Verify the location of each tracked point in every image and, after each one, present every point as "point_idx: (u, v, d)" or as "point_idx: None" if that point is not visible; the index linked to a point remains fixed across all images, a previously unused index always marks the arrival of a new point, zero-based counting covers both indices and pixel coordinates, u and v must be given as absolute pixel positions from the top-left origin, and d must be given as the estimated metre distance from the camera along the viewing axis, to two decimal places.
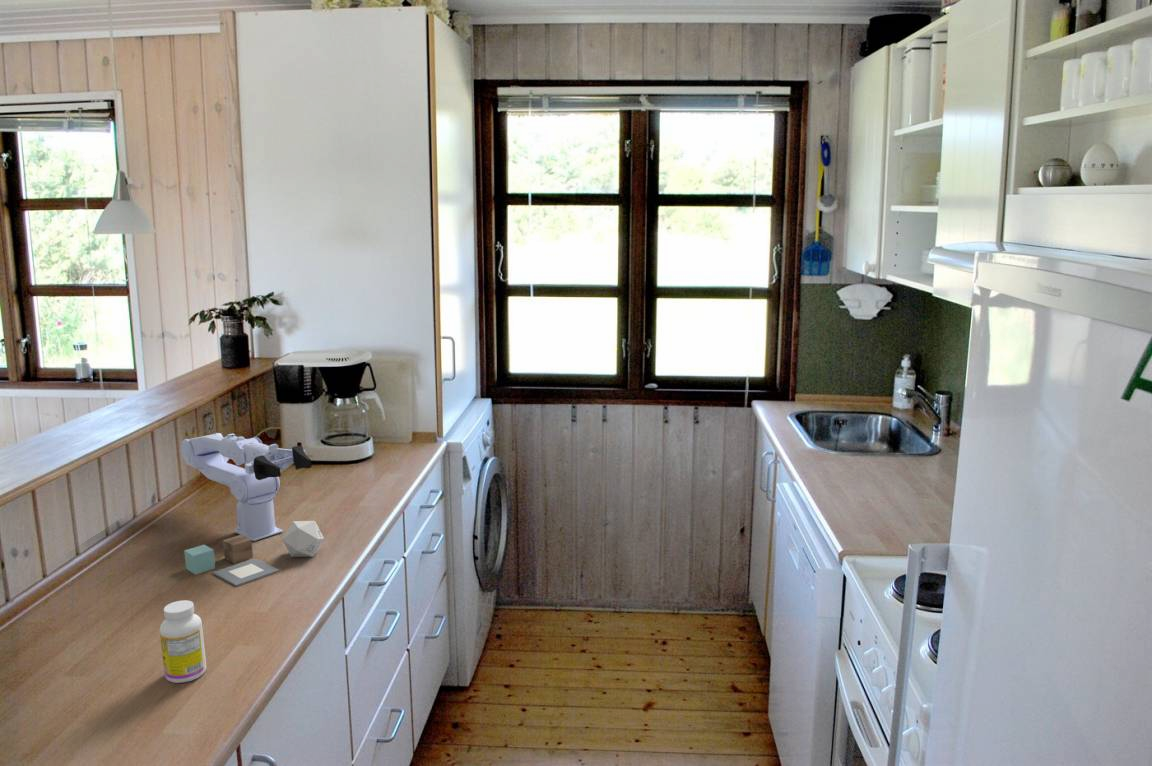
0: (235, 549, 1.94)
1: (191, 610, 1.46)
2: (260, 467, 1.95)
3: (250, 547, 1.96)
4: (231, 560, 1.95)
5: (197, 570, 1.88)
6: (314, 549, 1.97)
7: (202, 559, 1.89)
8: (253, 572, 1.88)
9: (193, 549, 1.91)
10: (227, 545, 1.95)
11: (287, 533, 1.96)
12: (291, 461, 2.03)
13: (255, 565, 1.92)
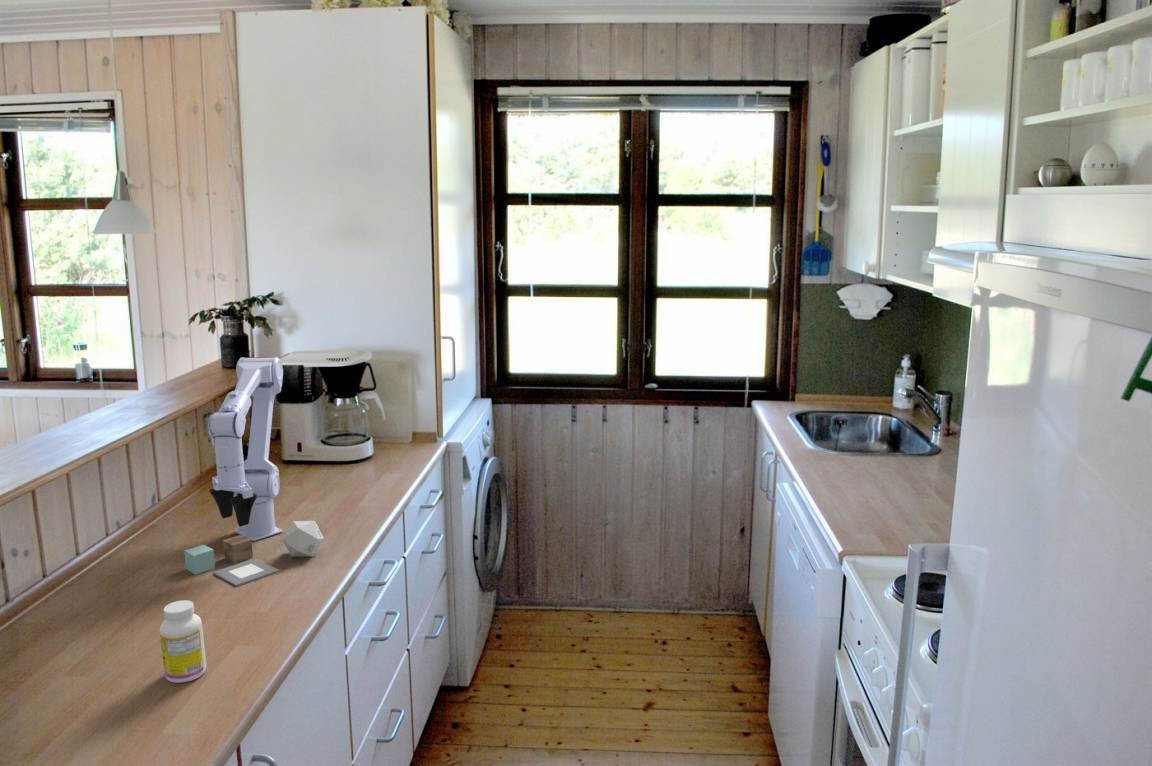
0: (235, 549, 1.94)
1: (191, 610, 1.46)
2: None
3: (250, 547, 1.96)
4: (231, 560, 1.95)
5: (197, 570, 1.88)
6: (314, 549, 1.97)
7: (202, 559, 1.89)
8: (253, 572, 1.88)
9: (193, 549, 1.91)
10: (227, 545, 1.95)
11: (287, 533, 1.96)
12: None
13: (255, 565, 1.92)
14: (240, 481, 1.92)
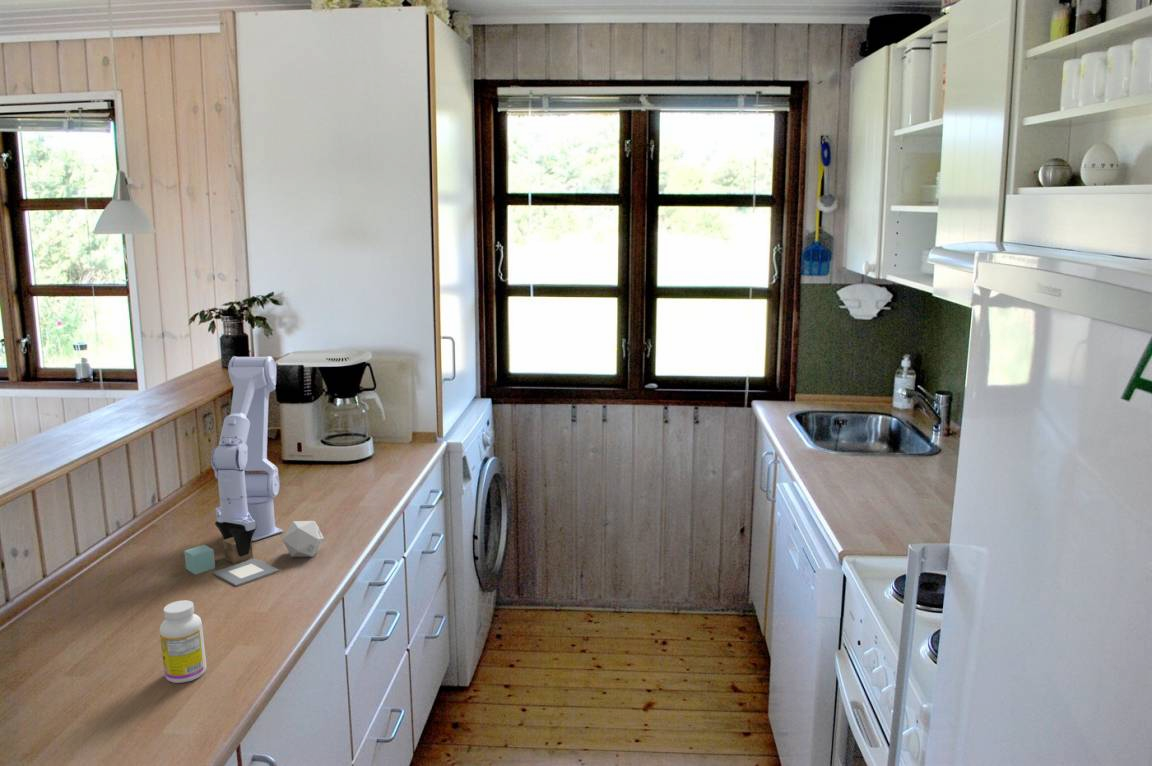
0: (235, 549, 1.94)
1: (191, 610, 1.46)
2: None
3: (250, 547, 1.96)
4: (231, 560, 1.95)
5: (197, 570, 1.88)
6: (314, 549, 1.97)
7: (202, 559, 1.89)
8: (253, 572, 1.88)
9: (193, 549, 1.91)
10: (227, 544, 1.95)
11: (287, 533, 1.96)
12: None
13: (255, 565, 1.92)
14: (243, 513, 1.93)
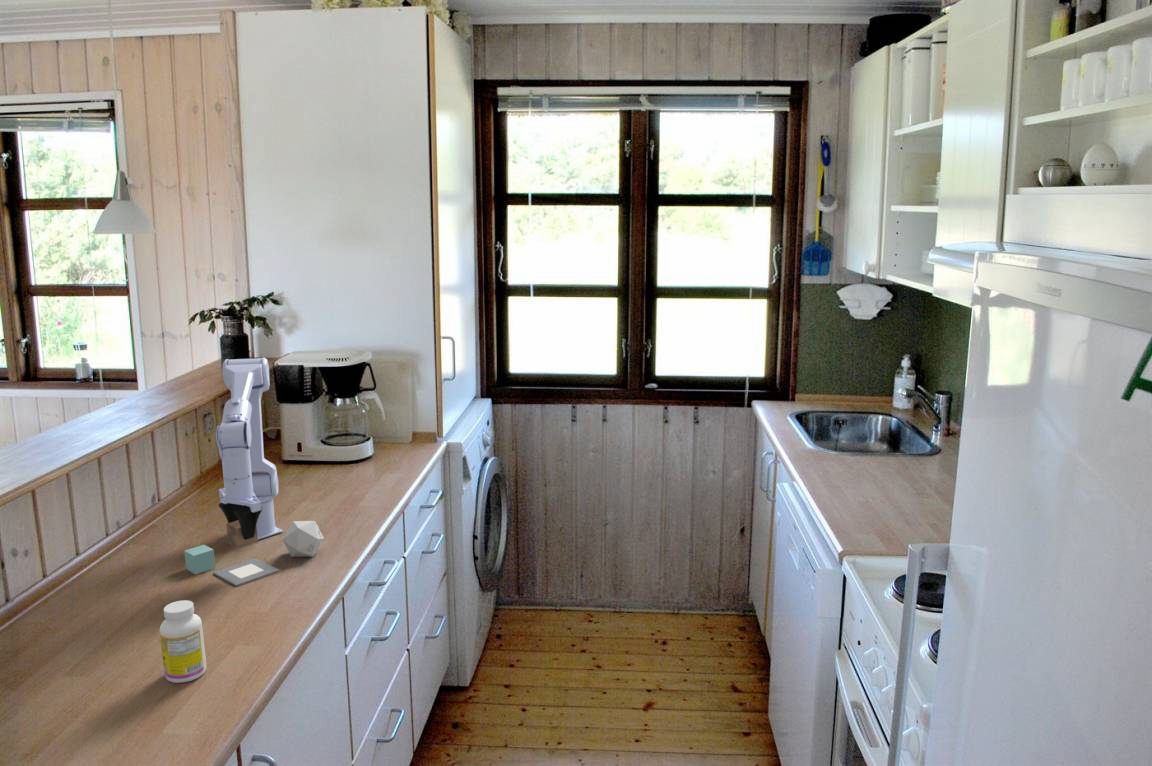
0: (239, 533, 1.84)
1: (191, 610, 1.46)
2: None
3: (255, 531, 1.87)
4: (235, 544, 1.85)
5: (197, 570, 1.88)
6: (314, 549, 1.97)
7: (202, 559, 1.89)
8: (253, 572, 1.88)
9: (193, 549, 1.91)
10: (231, 528, 1.85)
11: (287, 533, 1.96)
12: None
13: (255, 565, 1.92)
14: (248, 494, 1.84)
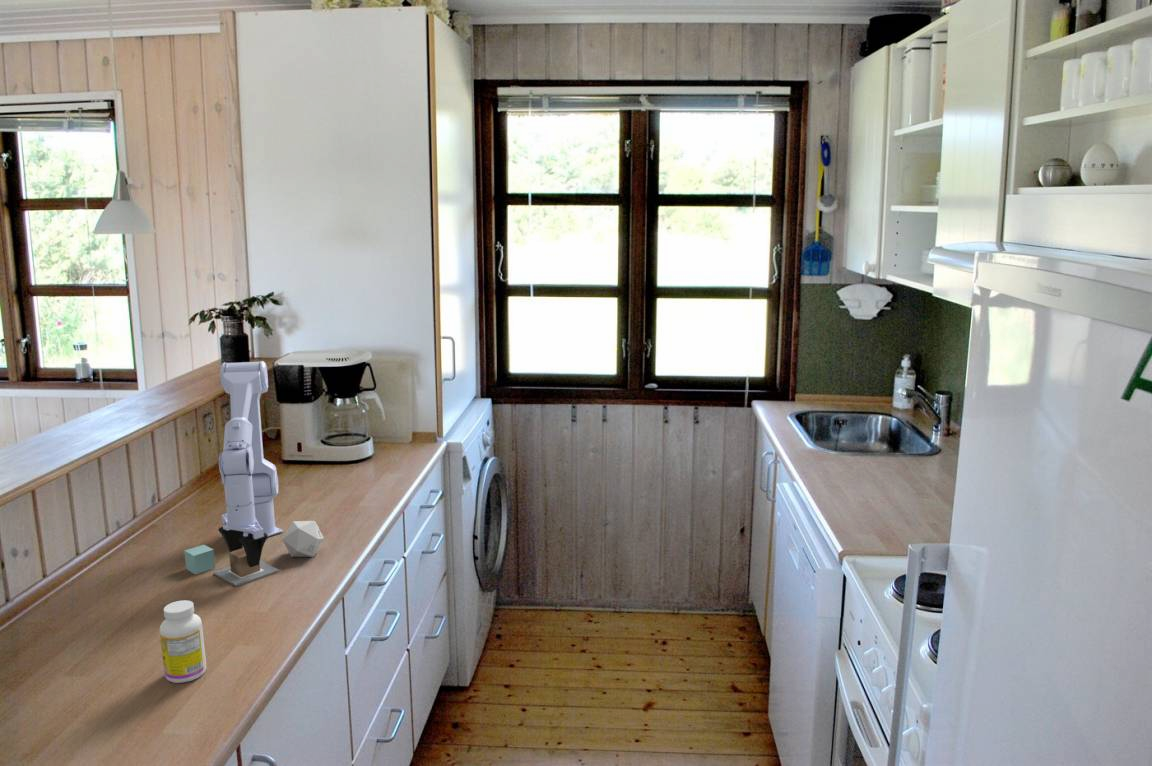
0: (242, 562, 1.85)
1: (191, 610, 1.46)
2: None
3: None
4: (238, 573, 1.86)
5: (197, 570, 1.88)
6: (314, 549, 1.97)
7: (202, 559, 1.89)
8: None
9: (193, 549, 1.91)
10: (234, 557, 1.86)
11: (287, 533, 1.96)
12: None
13: None
14: (251, 521, 1.85)
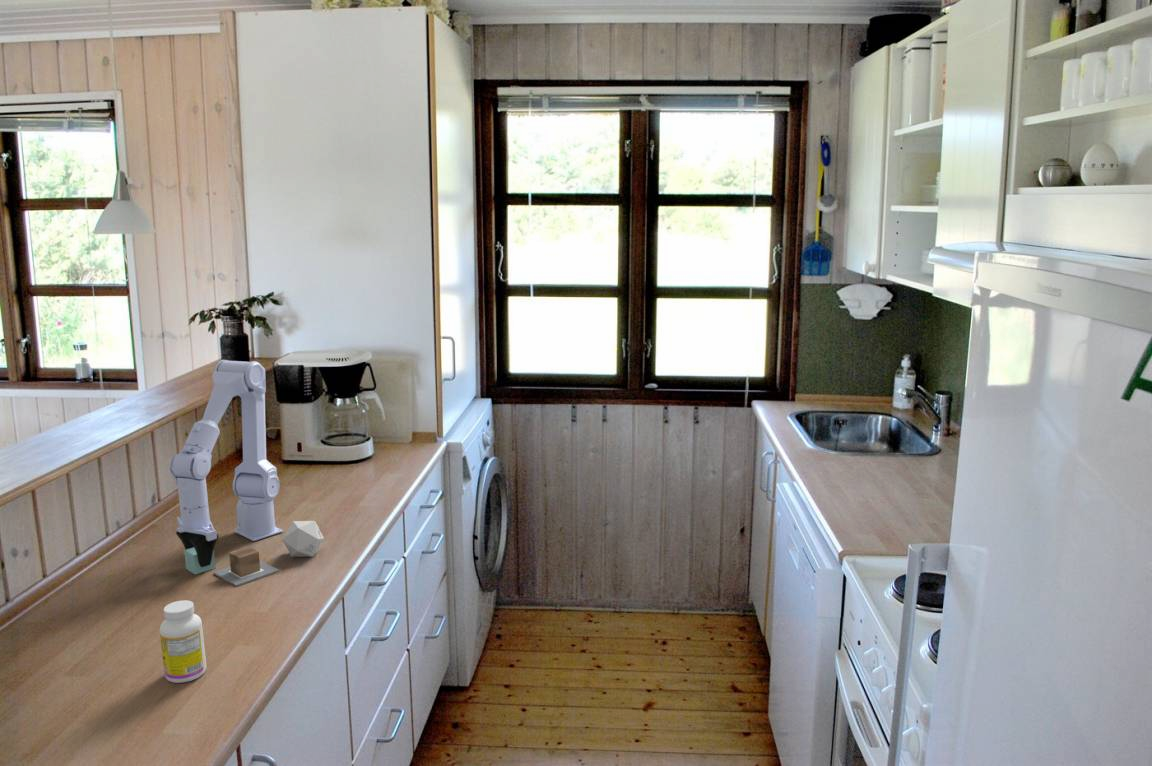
0: (242, 562, 1.85)
1: (191, 610, 1.46)
2: None
3: (257, 559, 1.88)
4: (238, 573, 1.86)
5: (197, 570, 1.88)
6: (314, 549, 1.97)
7: None
8: None
9: (193, 549, 1.91)
10: (234, 557, 1.86)
11: (287, 533, 1.96)
12: None
13: None
14: (204, 523, 1.88)
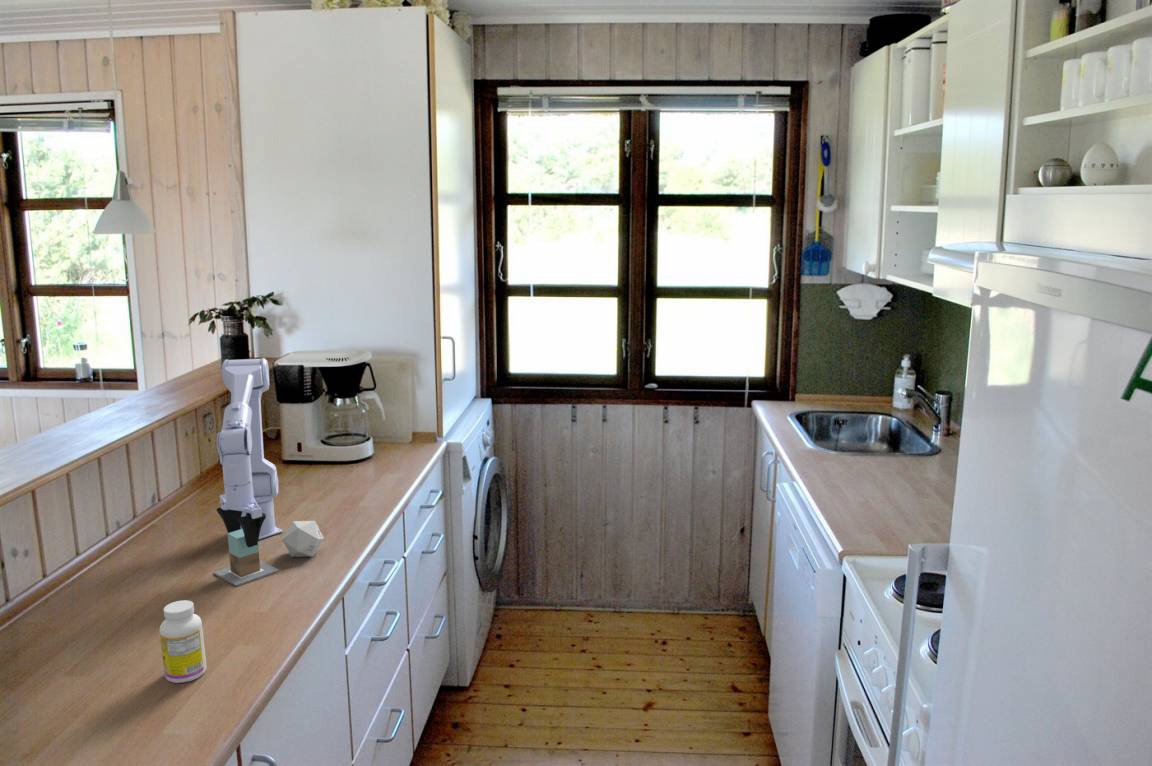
0: (242, 562, 1.85)
1: (191, 610, 1.46)
2: None
3: (257, 559, 1.88)
4: (238, 573, 1.86)
5: (241, 553, 1.85)
6: (314, 549, 1.97)
7: (245, 542, 1.85)
8: None
9: (236, 532, 1.87)
10: (234, 557, 1.86)
11: (287, 533, 1.96)
12: None
13: None
14: (249, 500, 1.84)
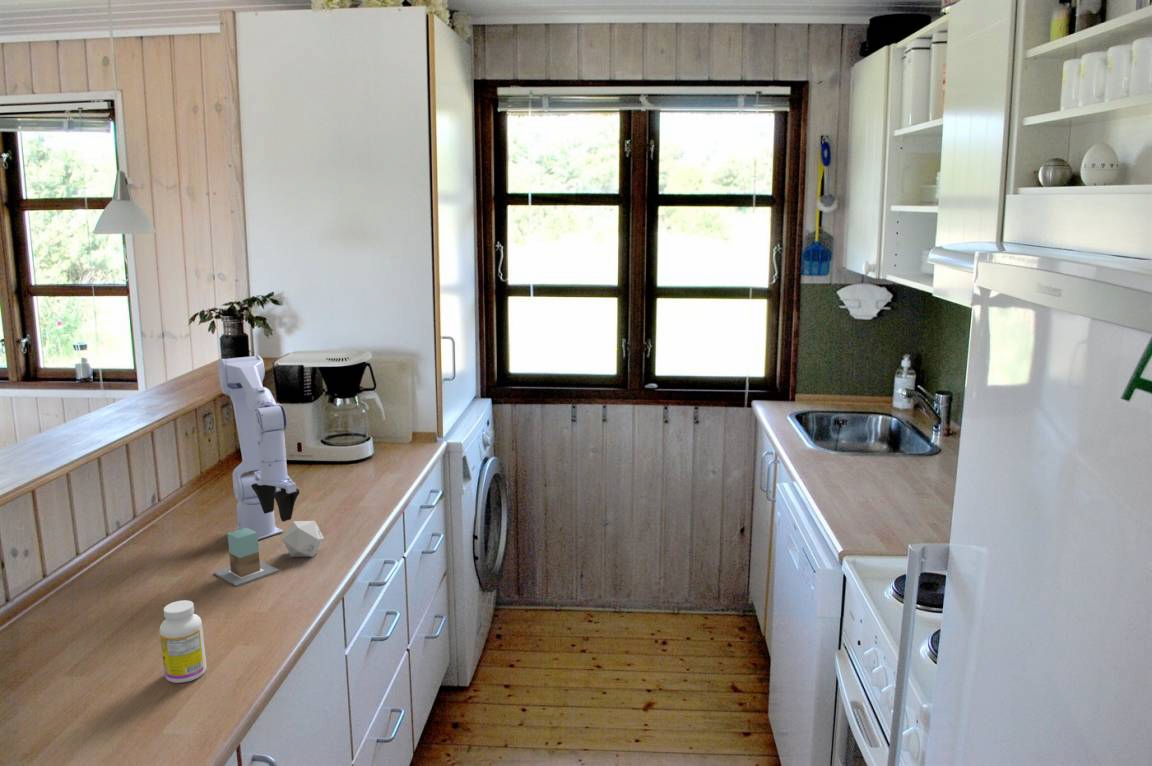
0: (242, 562, 1.85)
1: (191, 610, 1.45)
2: None
3: (257, 559, 1.88)
4: (238, 573, 1.86)
5: (241, 553, 1.85)
6: (314, 549, 1.97)
7: (245, 542, 1.85)
8: None
9: (236, 532, 1.87)
10: (234, 557, 1.86)
11: (287, 533, 1.96)
12: None
13: None
14: (283, 476, 1.91)
